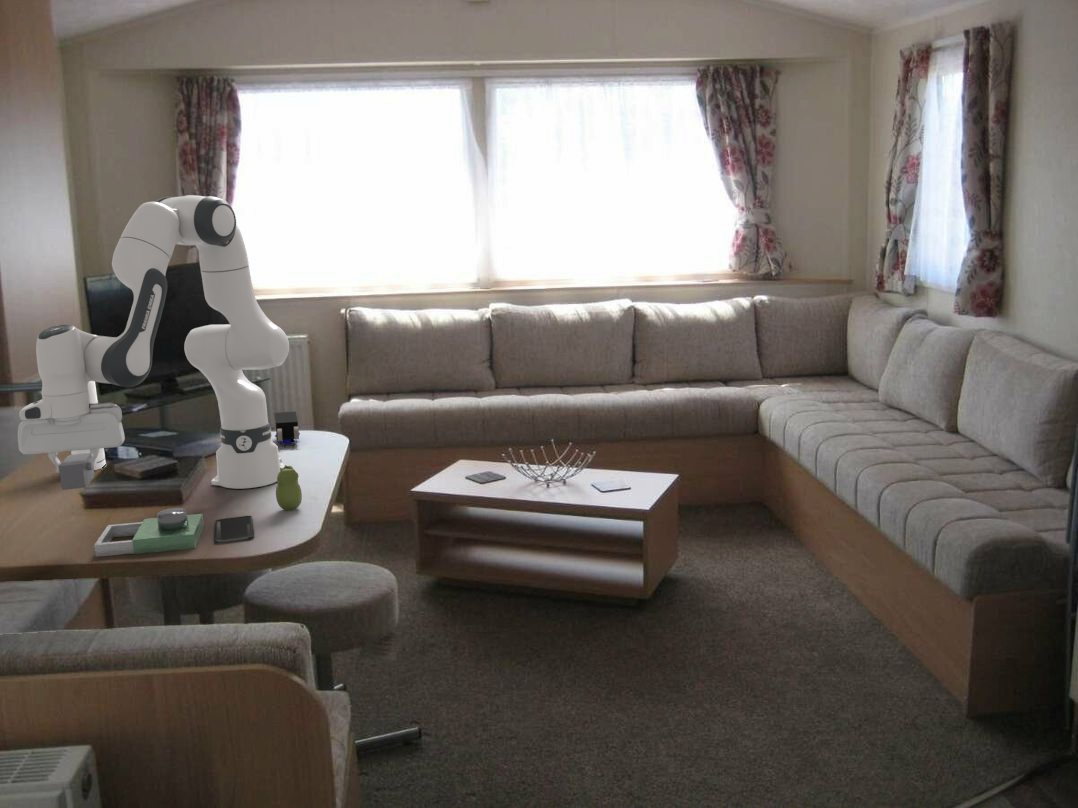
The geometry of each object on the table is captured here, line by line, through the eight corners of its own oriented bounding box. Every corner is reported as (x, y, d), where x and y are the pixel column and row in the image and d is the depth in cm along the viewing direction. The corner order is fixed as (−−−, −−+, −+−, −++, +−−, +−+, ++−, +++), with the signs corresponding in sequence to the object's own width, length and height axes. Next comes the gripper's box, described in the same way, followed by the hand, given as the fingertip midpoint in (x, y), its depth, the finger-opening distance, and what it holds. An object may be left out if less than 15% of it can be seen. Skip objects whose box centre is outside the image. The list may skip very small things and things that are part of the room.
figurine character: (303, 451, 309) (298, 433, 322) (300, 425, 306) (296, 408, 320) (277, 454, 307) (274, 435, 321) (275, 427, 304) (271, 410, 318)
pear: (300, 504, 254) (296, 461, 252) (305, 510, 250) (301, 467, 248) (275, 508, 252) (271, 465, 250) (280, 515, 247) (275, 471, 245)
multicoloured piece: (109, 535, 239) (106, 508, 237) (203, 526, 242) (200, 500, 240) (95, 557, 225) (91, 529, 224) (195, 548, 228) (191, 520, 227)
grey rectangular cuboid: (72, 477, 236) (68, 455, 235) (94, 475, 236) (91, 452, 235) (62, 489, 227) (58, 466, 226) (85, 487, 228) (81, 463, 227)
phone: (214, 541, 230) (215, 519, 244) (215, 546, 230) (216, 524, 244) (254, 536, 232) (252, 514, 246) (254, 541, 232) (253, 519, 246)
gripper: (123, 398, 232) (131, 462, 235) (19, 406, 229) (29, 470, 232) (116, 404, 226) (125, 470, 229) (10, 412, 223) (20, 479, 226)
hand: (76, 470), depth 231 cm, fingers closed on grey rectangular cuboid, 4 cm apart
